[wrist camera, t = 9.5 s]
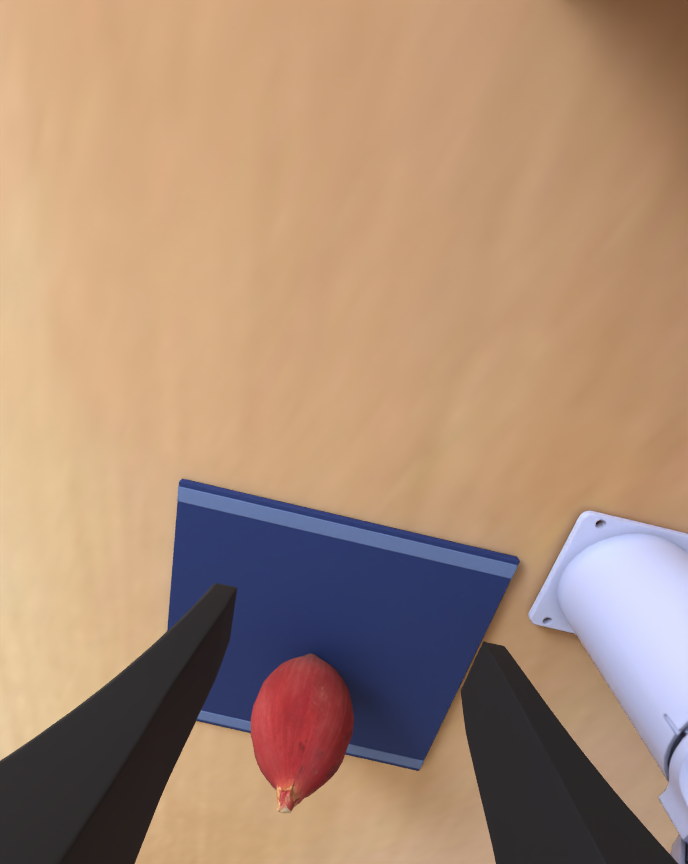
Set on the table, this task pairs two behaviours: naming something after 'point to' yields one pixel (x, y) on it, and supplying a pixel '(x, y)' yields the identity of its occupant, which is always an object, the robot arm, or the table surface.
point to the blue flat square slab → (337, 610)
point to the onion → (301, 727)
